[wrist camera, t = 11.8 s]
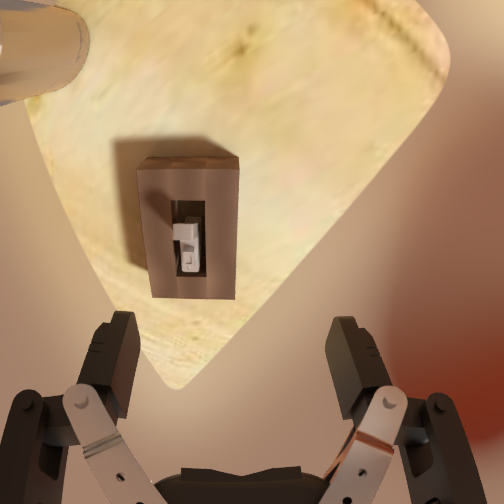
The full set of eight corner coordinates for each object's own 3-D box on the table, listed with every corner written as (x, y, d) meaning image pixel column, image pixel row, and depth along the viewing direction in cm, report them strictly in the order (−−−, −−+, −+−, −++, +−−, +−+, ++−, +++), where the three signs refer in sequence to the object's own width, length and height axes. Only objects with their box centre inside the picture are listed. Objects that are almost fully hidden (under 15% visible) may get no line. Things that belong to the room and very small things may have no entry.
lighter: (202, 249, 36) (195, 295, 30) (187, 249, 36) (177, 295, 30) (200, 191, 33) (192, 227, 26) (184, 190, 33) (171, 227, 26)
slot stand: (158, 276, 38) (152, 297, 35) (147, 157, 30) (136, 169, 27) (234, 277, 39) (234, 299, 35) (238, 157, 31) (239, 169, 28)
